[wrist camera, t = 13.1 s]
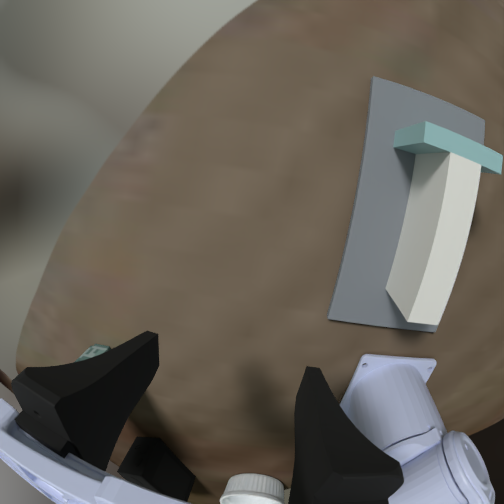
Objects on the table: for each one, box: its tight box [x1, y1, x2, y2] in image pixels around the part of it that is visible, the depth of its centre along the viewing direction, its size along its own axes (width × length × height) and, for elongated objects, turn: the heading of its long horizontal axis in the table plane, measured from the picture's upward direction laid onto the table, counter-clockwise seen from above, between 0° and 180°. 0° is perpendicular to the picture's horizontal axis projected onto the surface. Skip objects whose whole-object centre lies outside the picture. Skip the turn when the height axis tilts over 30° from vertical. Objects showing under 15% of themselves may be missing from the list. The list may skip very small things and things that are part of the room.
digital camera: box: [117, 437, 196, 502], centre depth 28 cm, size 10×5×7 cm, turn 20°
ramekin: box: [220, 473, 284, 504], centre depth 29 cm, size 9×9×4 cm
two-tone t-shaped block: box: [385, 121, 503, 325], centre depth 15 cm, size 11×6×5 cm, turn 172°
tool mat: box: [327, 76, 485, 332], centre depth 18 cm, size 18×10×1 cm, turn 172°
